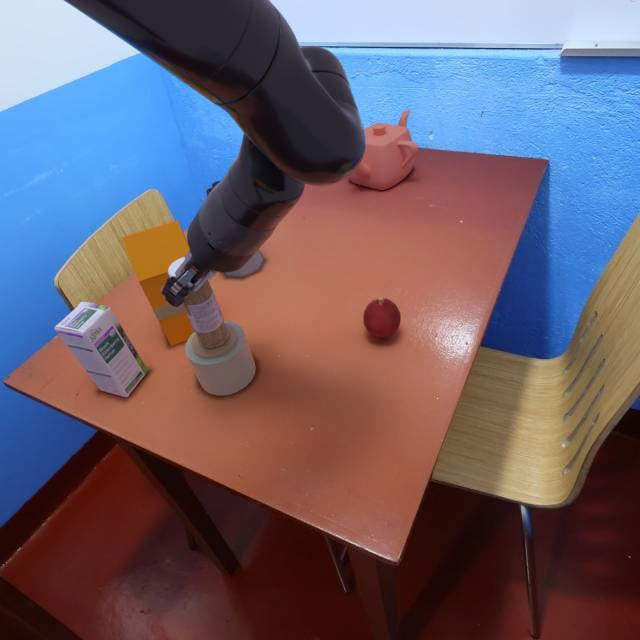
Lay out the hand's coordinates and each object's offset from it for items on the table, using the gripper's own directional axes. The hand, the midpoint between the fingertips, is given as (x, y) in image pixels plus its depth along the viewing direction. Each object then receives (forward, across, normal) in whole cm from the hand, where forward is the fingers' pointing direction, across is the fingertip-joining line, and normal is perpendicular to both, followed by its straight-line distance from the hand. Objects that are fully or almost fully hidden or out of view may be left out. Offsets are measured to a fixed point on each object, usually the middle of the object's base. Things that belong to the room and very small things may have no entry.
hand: (184, 288), depth 63 cm
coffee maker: (+21, -26, +3) cm, 34 cm away
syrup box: (+22, +7, +2) cm, 23 cm away
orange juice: (+20, -7, +4) cm, 22 cm away
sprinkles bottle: (+5, 0, +8) cm, 9 cm away
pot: (+11, -67, +13) cm, 69 cm away
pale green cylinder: (+11, 0, +13) cm, 17 cm away
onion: (-3, -16, +28) cm, 32 cm away
